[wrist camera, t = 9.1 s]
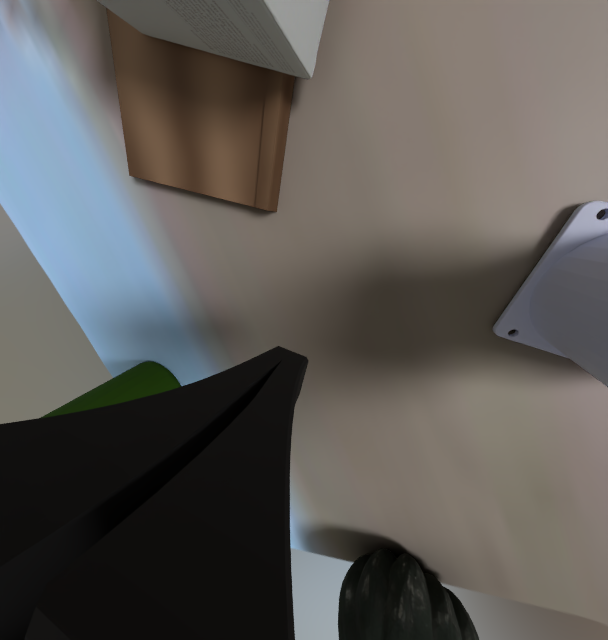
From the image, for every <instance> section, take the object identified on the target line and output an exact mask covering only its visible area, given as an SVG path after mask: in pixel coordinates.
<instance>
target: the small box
mask: <svg viewBox="0 0 608 640" xmlns="http://www.w3.org/2000/svg"><path fill="white" fill-rule="evenodd" d="M97 1H98V2H99V3H101V4H102V5H103V6H105V7H106V8H108V9H109V10H110V11H112V12H113V13H115V14H116V15H117V16H119V17H120V18H122V19H123V20H124V21H126V22H127V23H128V24H130V25H131V26H133V27H134V28H135V29H137V30H138V31H139V32H141V33H142V34H145V35H148V36H151V37H155V38H159V39H163V40H166V41H170V42H173V43H177V44H181V45H184V46H187V47H191V48H195V49H199V50H202V51H206V52H209V53H213V54H216V55H220V56H224V57H227V58H231V59H234V60H238V61H241V62H245V63H249V64H252V65H256V66H260V67H264V68H268V69H271V70H275V71H279V72H282V73H286V74H289V75H293V76H297V77H300V78H304V79H310V78H312V76H313V72H314V68H315V64H316V57H317V52H318V47H319V43H320V39H321V34H322V30H323V26H324V22H325V17H326V13H327V9H328V5H329V0H97Z"/></svg>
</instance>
